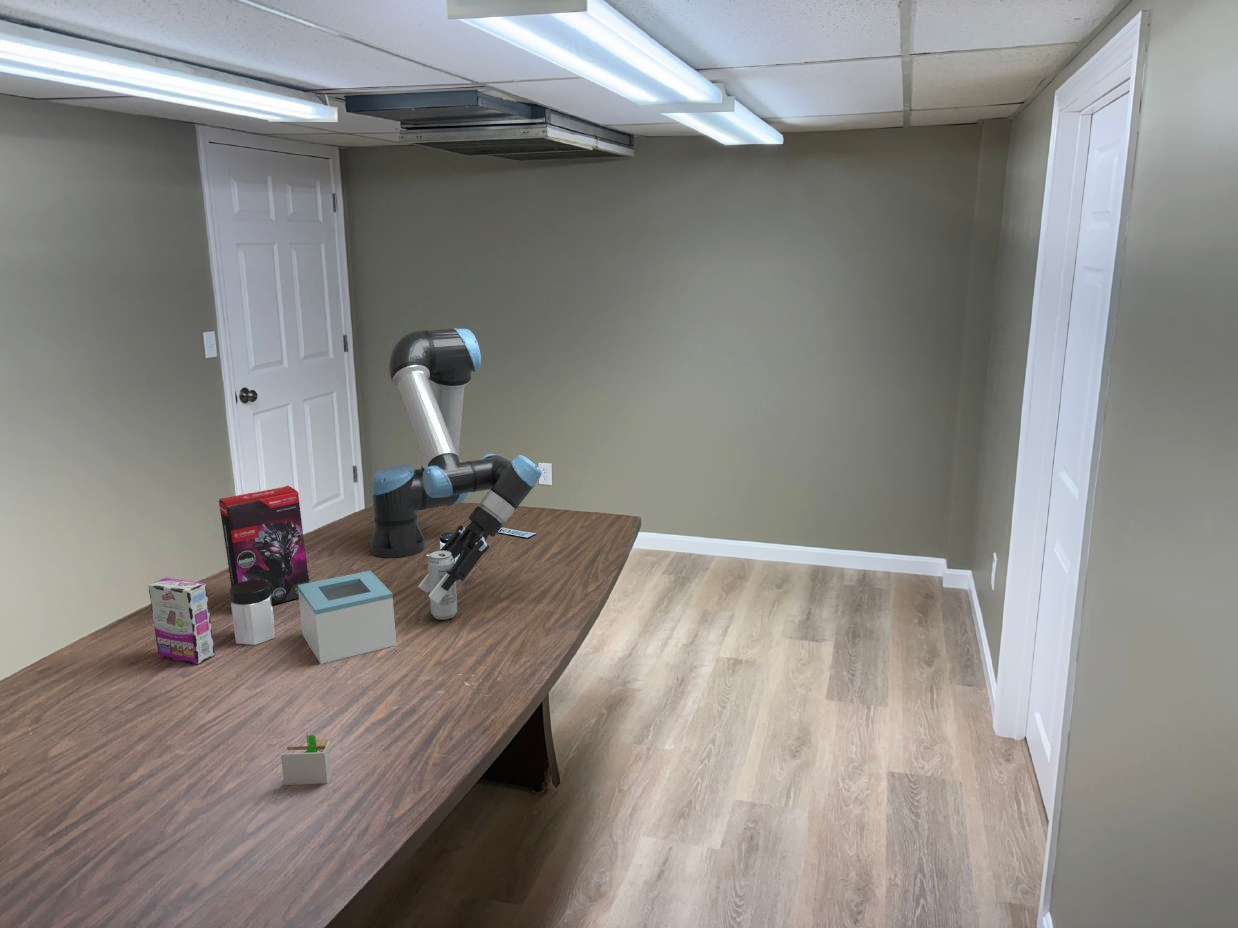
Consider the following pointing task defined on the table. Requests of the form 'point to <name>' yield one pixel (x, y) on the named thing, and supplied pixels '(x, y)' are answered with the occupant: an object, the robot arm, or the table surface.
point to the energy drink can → (437, 570)
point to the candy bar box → (182, 620)
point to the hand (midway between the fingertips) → (427, 594)
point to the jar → (252, 612)
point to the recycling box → (347, 616)
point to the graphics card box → (266, 540)
